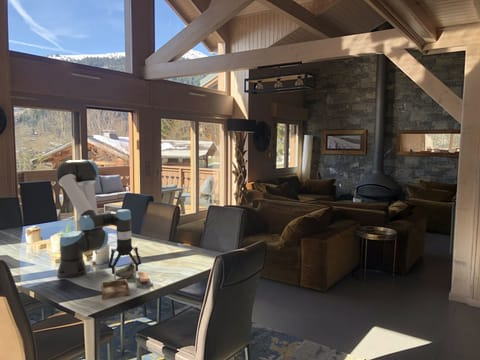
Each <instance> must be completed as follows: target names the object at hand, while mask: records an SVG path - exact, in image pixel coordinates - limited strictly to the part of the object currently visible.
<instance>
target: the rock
mask: <svg viewBox="0 0 480 360" xmlns="http://www.w3.org/2000/svg"><path fill="white" fill-rule="evenodd" d="M134 265H135V264H133V263H130V264H128V265H126V266H125V267H122V268H120V269H116V278H121V279H122V278H123V280H124V279H129V278H131V277H132V275H134Z"/></svg>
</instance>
